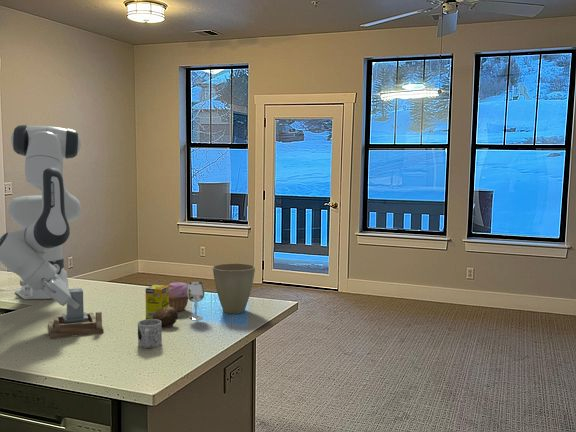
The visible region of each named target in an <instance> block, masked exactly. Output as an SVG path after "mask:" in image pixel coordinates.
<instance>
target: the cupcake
mask: <svg viewBox="0 0 576 432" xmlns="http://www.w3.org/2000/svg"><path fill="white" fill-rule="evenodd" d="M188 285H189V284H188V283H185V282H179V281H178V282H177V281H175V282H170V283H169V284H168V285H167V286H169V307H173V308H174V309H176V311H177V312H180V311H184V310H185V309H186V307H187V306H188V302H189V299H188V297H187V289H188Z"/></svg>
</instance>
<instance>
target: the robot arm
mask: <svg viewBox="0 0 576 432" xmlns="http://www.w3.org/2000/svg"><path fill="white" fill-rule="evenodd" d="M13 129H14V130H13V131H12V134H11V137H10V141H11V142H10V144H11V146H12V148H13V149H12V150H13V151H14V153H16V154H17V155H20V156H23V157H25V160H24V161H25V163H24V175H25V181H26V182H27V183H28V184H29V185H31V186H32V187H34V188H35V189H36V190H39V191H41V194H40V195H23V196H18V197H14V198H13V199H11V201H10V202H9V205H8V209H7V211H8V213H7V214H8V216H9V218H10V220H11V221H12V222H13V223H14V224H16V225H18V226H19V227H20V228H22V229H18V230H15V231H12V232H5V233H4V234H3V235H1V237H0V264H2V265H3V266H4V267H5V268H6V269H7V270H9V271H10V272H11V273H14V274H15V275H17V276H18V277H19V278H20V279H21V280H19V285H20V288H17V289H15V290H14V292H15V294H16V295H18V296H19V297H21V299H23V300H47V299H49V300H50V299H53V300H54V301H56V303H58V304H59V305H60V306H63V307H64V306H66V305H67V304H69V305H70V306H72V307H73V308H75V309H77V308H78V307H79V306H80V305H79V303H78V302H77V301H75V300H74V299H73V298H72V297H71V295H70V292H69V289H72V288H71V287H70V286H69V277H68V272H67V270H65V260H64V258H63V244H65V243H66V242H67V240H68V239H69V237H70V232H71V228H70V224H69V223H70V222H74V221H77V220H78V218H80V216H81V214H82V205H81V201H79V199H78V198H77V197H76V196H74V195H73V194H71V193H70V192H69V191H68V189H67V188H66V186H65V183H64V159H66V160H67V159H73V158H75V157H77V155H78V154H79V152H80V149H81V147H82V146H81V145H82V144H81V138H80V135H79V133H78V131H76V130H74V129H72V128H69V127H68V128H63V127H58V126H52V125H51V126H50V125H27V124H20V125H17V126H16V127H15V128H13Z"/></svg>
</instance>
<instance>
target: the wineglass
mask: <svg viewBox="0 0 576 432" xmlns="http://www.w3.org/2000/svg"><path fill="white" fill-rule="evenodd" d="M203 283H204V282H201V281H191V282H189V283H188V284H187V285H188V289H187V297H188V301H191V302H193V303H194V310H195V311H194V315H193V316H189V320H190V321H199V320H202V319H203V316H200V315H198V314H197V309H198V303H199V302H201V301H203V299H204V298H205V286H204V284H203Z"/></svg>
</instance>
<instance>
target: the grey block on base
mask: <svg viewBox="0 0 576 432" xmlns="http://www.w3.org/2000/svg"><path fill="white" fill-rule="evenodd" d="M69 292H70V295H71V297H72V298H73V299H74V300H75V301H77V302H78V303H79V305H80V306H79V307H78V308H77V309H75V308H73V307H72V306H70V305H69V304H67V303H66V313H64V314H62V316H63V322H64V324H71V323H80V322H88V316H87V314H86V313H87V312H86V311H84V310H85V309H84V291H83V288H82V287H79V288H78V287H77V288H71V289H69Z"/></svg>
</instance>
